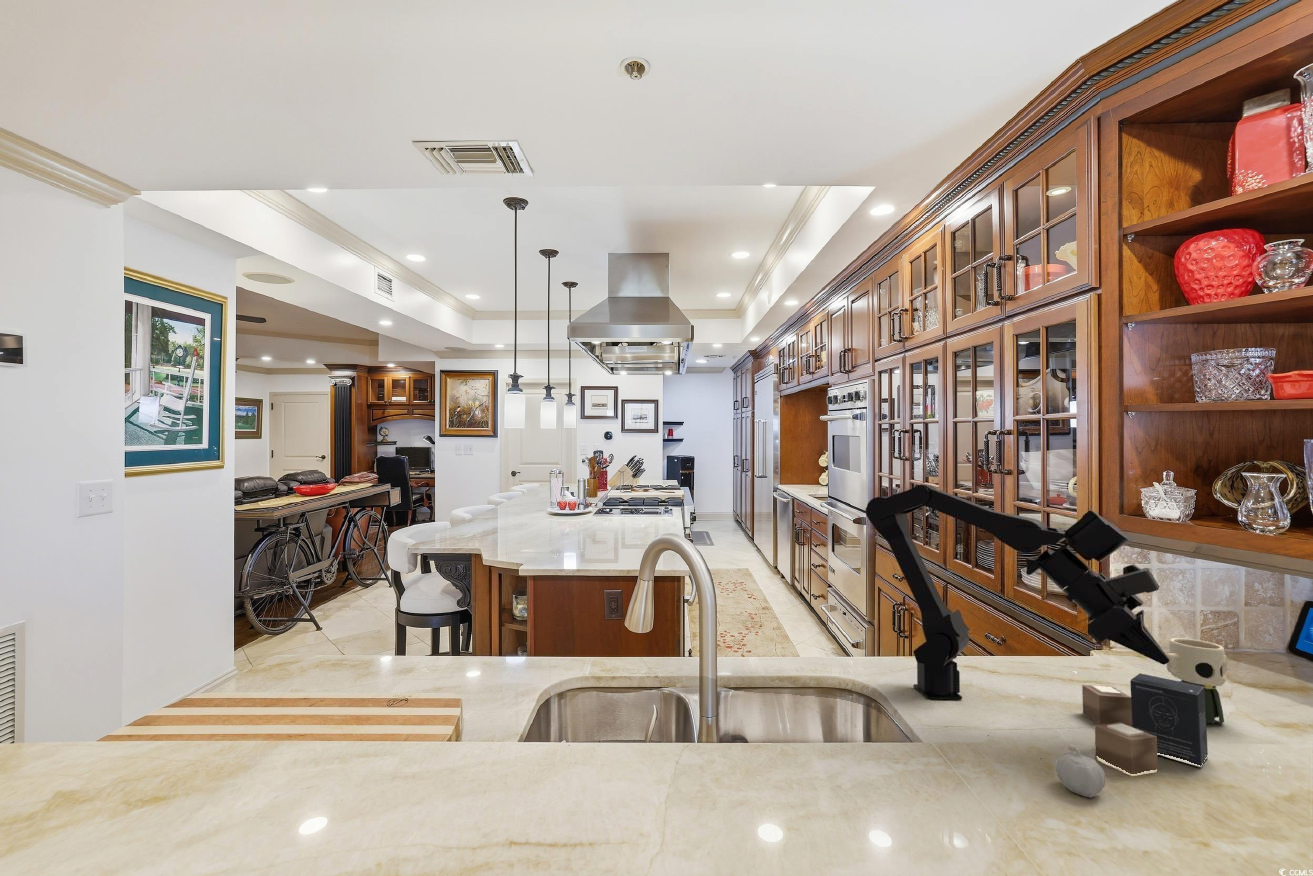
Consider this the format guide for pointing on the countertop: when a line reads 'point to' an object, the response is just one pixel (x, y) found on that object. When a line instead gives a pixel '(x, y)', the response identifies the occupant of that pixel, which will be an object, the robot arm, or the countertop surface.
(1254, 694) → the countertop surface
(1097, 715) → the walnut cube far
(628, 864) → the countertop surface
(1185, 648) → the character mug
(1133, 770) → the walnut cube near
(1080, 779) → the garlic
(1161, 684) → the box
